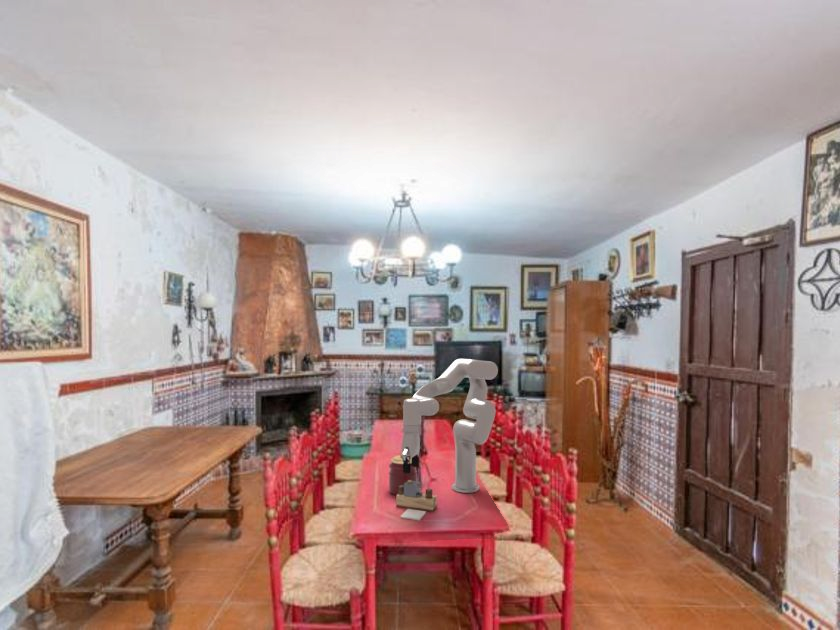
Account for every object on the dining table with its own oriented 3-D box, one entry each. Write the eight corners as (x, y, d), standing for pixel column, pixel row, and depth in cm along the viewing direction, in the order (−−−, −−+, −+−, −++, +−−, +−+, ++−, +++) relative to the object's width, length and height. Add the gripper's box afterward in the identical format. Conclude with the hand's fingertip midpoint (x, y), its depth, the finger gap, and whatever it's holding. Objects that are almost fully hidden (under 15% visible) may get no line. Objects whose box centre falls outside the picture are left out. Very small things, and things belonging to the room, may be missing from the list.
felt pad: (407, 510, 191) (407, 508, 191) (426, 512, 188) (426, 511, 188) (400, 517, 183) (400, 516, 183) (419, 520, 180) (419, 519, 180)
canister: (413, 497, 205) (413, 457, 205) (385, 495, 207) (385, 455, 208) (419, 487, 217) (419, 449, 218) (392, 485, 220) (392, 447, 220)
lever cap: (408, 492, 199) (408, 478, 199) (420, 493, 197) (420, 479, 197) (403, 496, 194) (403, 482, 194) (416, 497, 192) (416, 483, 192)
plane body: (401, 501, 200) (401, 483, 200) (436, 506, 194) (436, 488, 195) (396, 506, 195) (396, 488, 195) (432, 511, 189) (432, 492, 189)
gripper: (410, 424, 205) (410, 463, 205) (395, 431, 189) (394, 474, 188) (427, 425, 203) (426, 465, 202) (412, 433, 186) (412, 476, 186)
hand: (411, 469), depth 195 cm, fingers open, 9 cm apart
